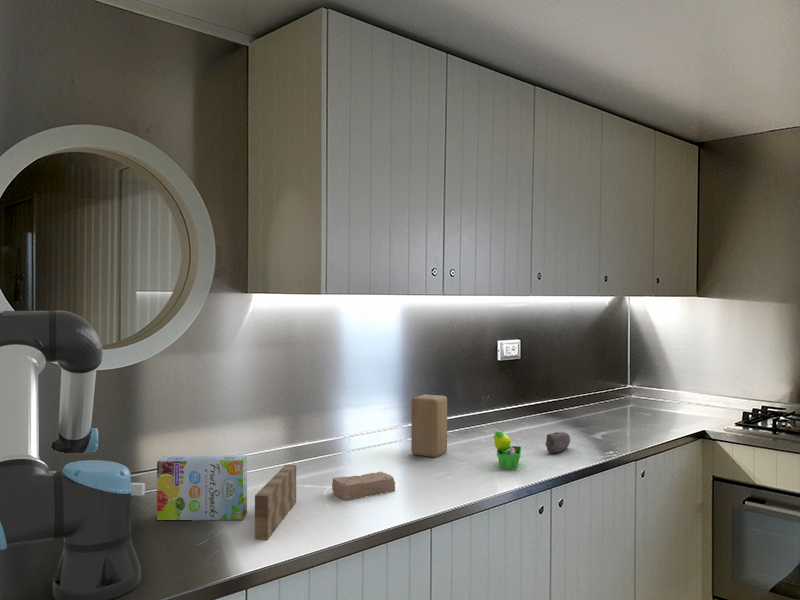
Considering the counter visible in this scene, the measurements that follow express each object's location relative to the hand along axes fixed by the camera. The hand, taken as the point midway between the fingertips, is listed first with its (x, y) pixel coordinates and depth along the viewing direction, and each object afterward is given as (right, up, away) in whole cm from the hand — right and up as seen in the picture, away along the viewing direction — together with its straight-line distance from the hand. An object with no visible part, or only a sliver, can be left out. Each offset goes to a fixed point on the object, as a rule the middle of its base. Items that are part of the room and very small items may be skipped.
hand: (143, 489), depth 159 cm
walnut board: (+34, -7, -3) cm, 35 cm away
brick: (+54, -7, +19) cm, 58 cm away
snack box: (+15, -7, -1) cm, 17 cm away
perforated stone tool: (+122, -7, +67) cm, 139 cm away
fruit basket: (+100, -7, +48) cm, 111 cm away
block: (+75, -6, +63) cm, 98 cm away
